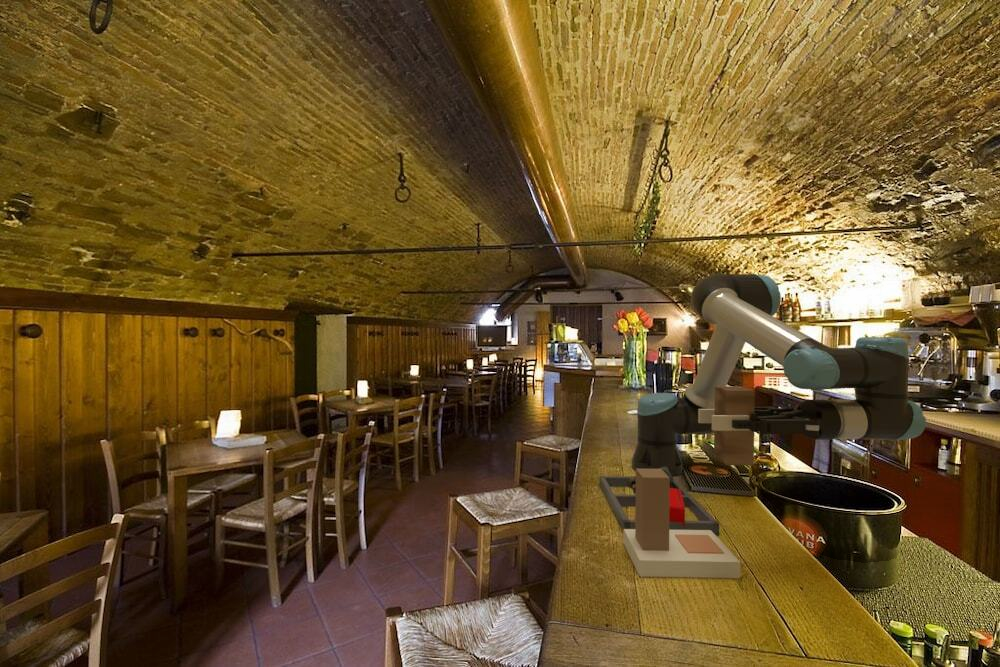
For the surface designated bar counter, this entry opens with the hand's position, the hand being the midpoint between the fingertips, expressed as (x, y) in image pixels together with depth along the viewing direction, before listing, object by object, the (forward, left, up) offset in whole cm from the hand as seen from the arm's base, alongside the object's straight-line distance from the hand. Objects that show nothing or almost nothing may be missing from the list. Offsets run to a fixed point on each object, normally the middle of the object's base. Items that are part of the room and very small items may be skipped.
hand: (705, 419), depth 83 cm
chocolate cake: (-33, 0, -28) cm, 44 cm away
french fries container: (-19, -2, -28) cm, 34 cm away
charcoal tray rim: (-25, -2, -28) cm, 38 cm away
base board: (-1, -5, -28) cm, 28 cm away
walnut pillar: (0, +5, -8) cm, 10 cm away
